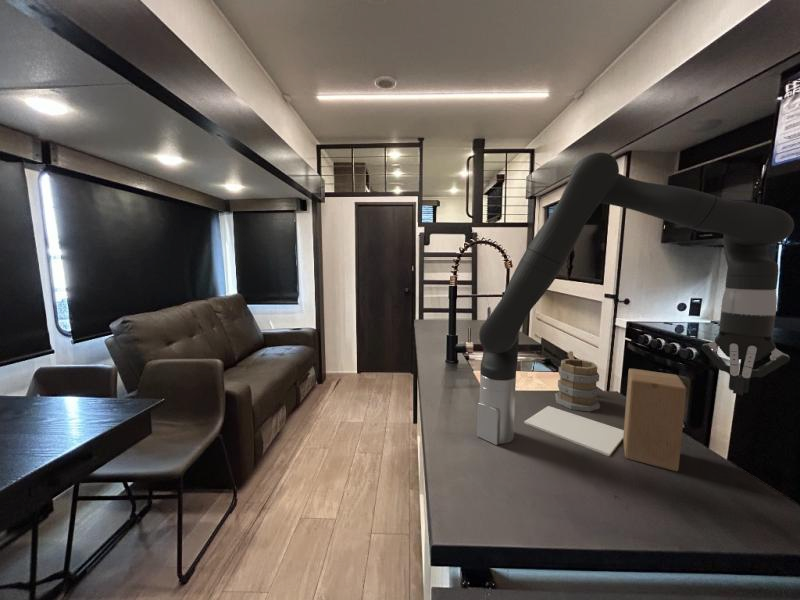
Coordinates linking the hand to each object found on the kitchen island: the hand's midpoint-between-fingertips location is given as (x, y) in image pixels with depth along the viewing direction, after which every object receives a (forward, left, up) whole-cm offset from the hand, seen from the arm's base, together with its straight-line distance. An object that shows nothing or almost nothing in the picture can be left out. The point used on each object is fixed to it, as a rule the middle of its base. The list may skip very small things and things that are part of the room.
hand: (738, 393), depth 67 cm
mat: (0, +31, -20) cm, 37 cm away
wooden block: (0, +14, -20) cm, 25 cm away
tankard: (+22, +39, -20) cm, 49 cm away
